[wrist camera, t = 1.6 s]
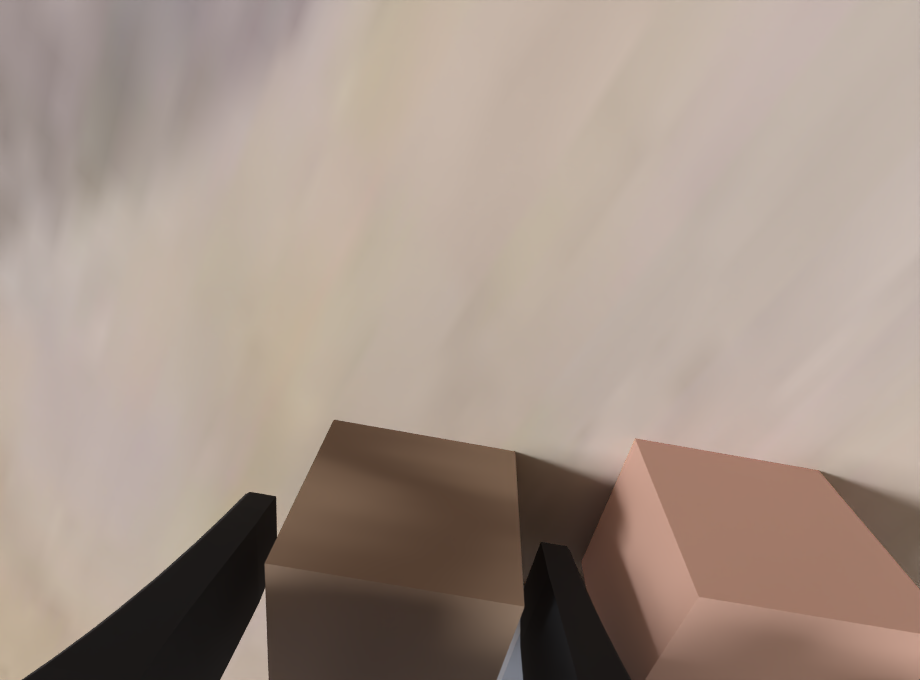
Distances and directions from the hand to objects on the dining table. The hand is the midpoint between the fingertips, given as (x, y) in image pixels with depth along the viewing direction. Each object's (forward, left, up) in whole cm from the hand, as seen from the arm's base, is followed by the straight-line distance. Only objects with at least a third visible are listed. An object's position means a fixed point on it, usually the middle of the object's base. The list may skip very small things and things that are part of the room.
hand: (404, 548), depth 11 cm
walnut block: (0, 0, -2) cm, 2 cm away
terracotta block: (+7, +1, -2) cm, 7 cm away
